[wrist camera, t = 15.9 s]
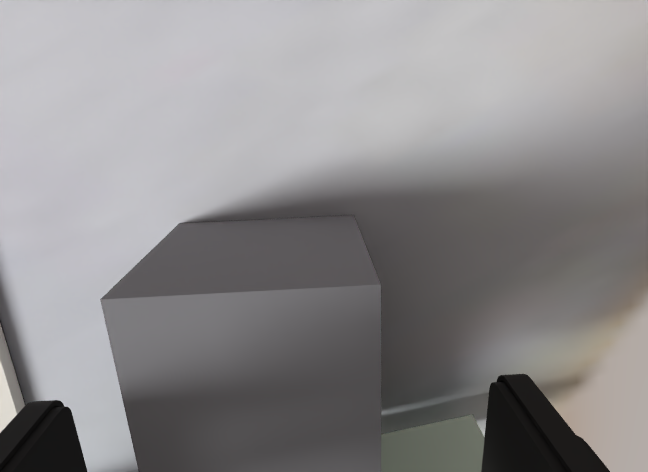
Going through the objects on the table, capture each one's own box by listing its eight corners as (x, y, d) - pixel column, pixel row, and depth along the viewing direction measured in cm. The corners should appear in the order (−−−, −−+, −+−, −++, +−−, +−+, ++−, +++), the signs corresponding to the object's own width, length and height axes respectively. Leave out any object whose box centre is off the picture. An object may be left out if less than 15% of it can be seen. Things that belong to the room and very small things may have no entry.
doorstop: (180, 222, 12) (100, 299, 8) (353, 213, 12) (381, 284, 8) (210, 420, 14) (162, 577, 10) (357, 411, 15) (381, 563, 10)
